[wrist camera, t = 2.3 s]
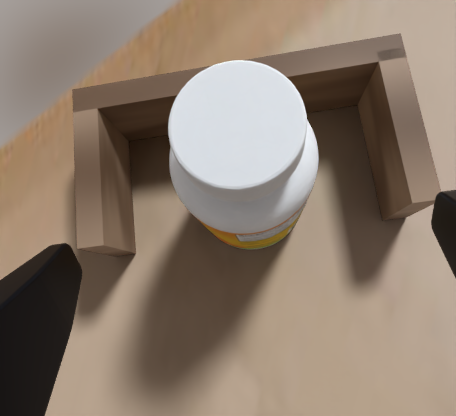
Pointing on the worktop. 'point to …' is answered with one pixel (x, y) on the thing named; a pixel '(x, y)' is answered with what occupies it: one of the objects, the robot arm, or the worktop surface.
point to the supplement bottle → (242, 152)
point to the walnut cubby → (313, 101)
